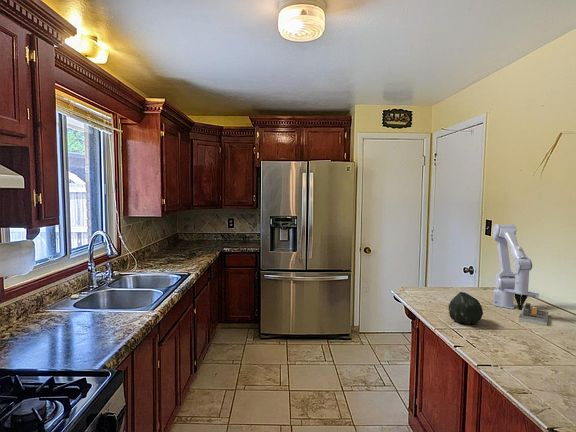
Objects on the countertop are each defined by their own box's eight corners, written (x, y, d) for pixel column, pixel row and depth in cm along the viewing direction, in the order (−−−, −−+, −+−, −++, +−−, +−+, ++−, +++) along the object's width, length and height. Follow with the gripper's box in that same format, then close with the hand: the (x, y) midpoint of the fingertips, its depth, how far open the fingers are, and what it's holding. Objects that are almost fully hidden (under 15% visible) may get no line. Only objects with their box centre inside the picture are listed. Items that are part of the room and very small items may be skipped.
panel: (518, 320, 177) (518, 316, 177) (522, 310, 193) (522, 306, 192) (546, 325, 171) (546, 321, 171) (548, 315, 186) (548, 310, 186)
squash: (489, 309, 176) (467, 283, 180) (489, 320, 163) (465, 292, 167) (463, 324, 182) (442, 299, 186) (461, 335, 169) (439, 308, 173)
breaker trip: (531, 314, 181) (531, 307, 181) (531, 313, 183) (532, 306, 183) (536, 315, 180) (536, 308, 180) (536, 314, 182) (537, 307, 182)
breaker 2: (523, 316, 179) (523, 309, 178) (523, 314, 180) (524, 308, 180) (528, 317, 177) (528, 310, 177) (528, 315, 179) (528, 309, 179)
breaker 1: (525, 310, 187) (525, 304, 187) (525, 309, 189) (526, 302, 189) (529, 311, 186) (530, 304, 186) (530, 310, 188) (530, 303, 188)
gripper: (503, 281, 185) (502, 308, 186) (538, 286, 176) (537, 314, 177) (505, 279, 191) (504, 305, 192) (539, 283, 182) (538, 311, 183)
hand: (520, 309), depth 185 cm, fingers closed
